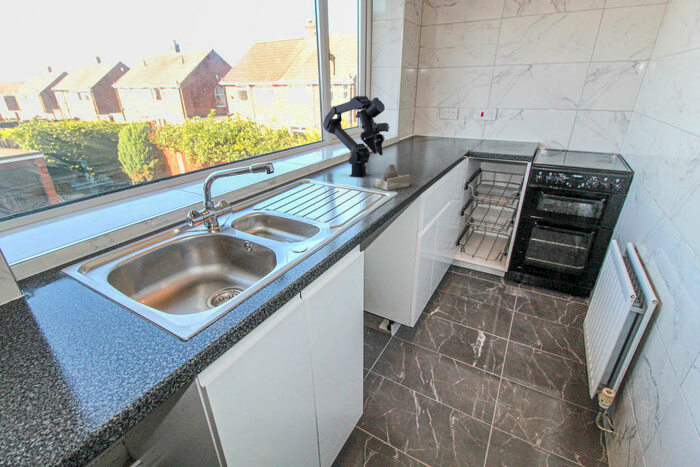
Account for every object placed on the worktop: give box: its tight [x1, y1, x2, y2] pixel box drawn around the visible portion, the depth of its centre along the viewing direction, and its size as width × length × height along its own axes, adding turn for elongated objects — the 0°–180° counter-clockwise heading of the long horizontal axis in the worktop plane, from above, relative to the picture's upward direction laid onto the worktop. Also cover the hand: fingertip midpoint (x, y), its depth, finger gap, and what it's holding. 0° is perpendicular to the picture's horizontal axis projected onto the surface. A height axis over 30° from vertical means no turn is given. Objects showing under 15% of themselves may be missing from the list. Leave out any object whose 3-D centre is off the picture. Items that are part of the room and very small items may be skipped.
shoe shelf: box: [374, 174, 411, 192], centre depth 147 cm, size 8×13×5 cm, turn 126°
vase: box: [383, 164, 400, 182], centre depth 147 cm, size 7×7×9 cm
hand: (378, 154), depth 152 cm, fingers open, 9 cm apart
